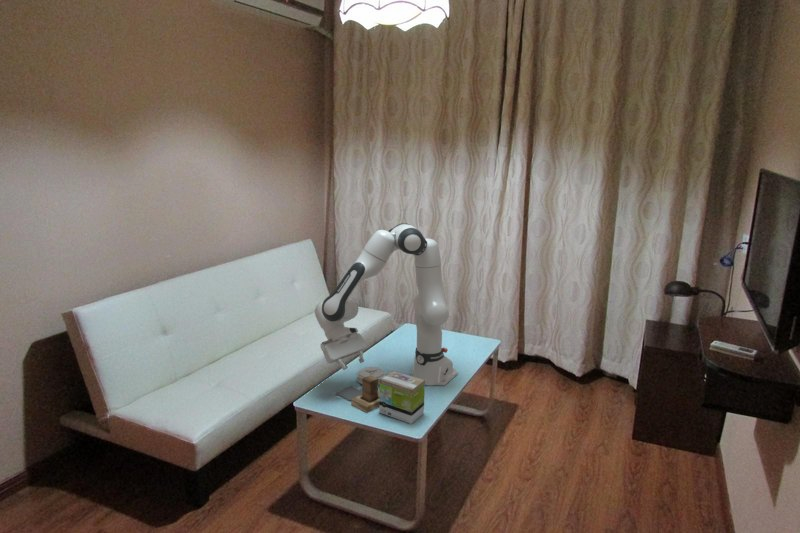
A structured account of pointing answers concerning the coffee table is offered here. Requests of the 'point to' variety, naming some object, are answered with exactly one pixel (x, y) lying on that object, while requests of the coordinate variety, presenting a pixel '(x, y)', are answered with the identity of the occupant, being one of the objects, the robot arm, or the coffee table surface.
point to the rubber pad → (349, 393)
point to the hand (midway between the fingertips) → (354, 365)
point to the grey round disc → (370, 373)
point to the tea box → (402, 396)
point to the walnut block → (370, 388)
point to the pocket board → (365, 403)
